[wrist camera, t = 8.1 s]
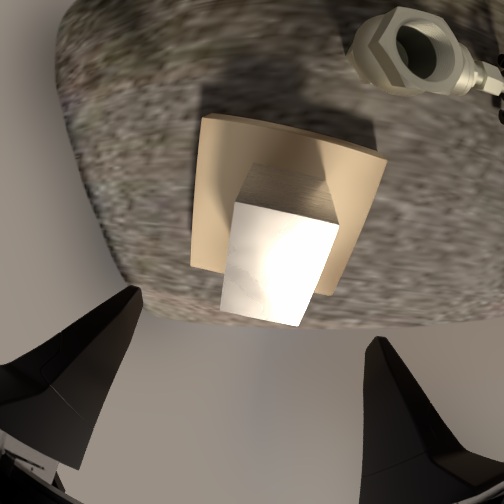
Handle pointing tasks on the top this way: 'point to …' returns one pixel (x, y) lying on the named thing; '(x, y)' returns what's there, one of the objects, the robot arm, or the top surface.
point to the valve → (419, 57)
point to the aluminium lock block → (277, 244)
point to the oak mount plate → (285, 157)
